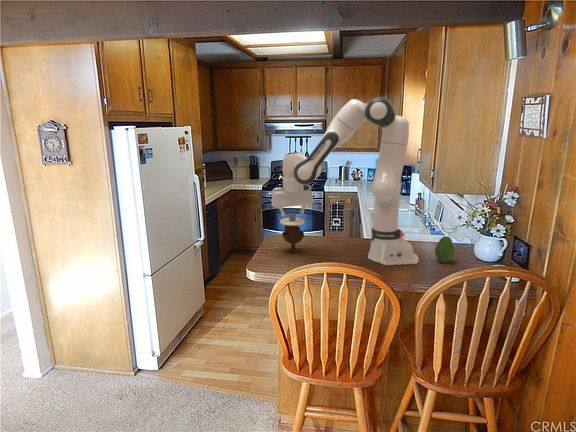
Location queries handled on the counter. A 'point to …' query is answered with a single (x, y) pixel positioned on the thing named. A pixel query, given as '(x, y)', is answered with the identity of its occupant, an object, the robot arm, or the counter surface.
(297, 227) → the ice cream bowl
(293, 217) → the lid
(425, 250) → the counter surface
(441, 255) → the avocado
